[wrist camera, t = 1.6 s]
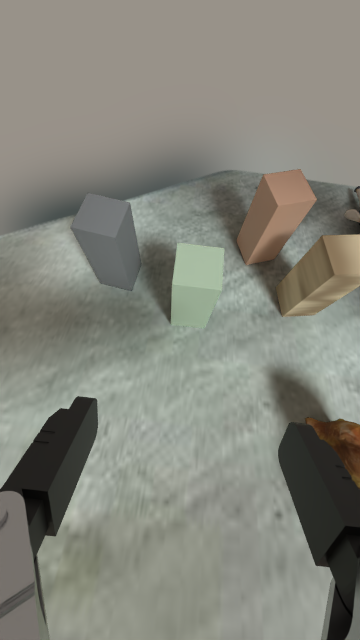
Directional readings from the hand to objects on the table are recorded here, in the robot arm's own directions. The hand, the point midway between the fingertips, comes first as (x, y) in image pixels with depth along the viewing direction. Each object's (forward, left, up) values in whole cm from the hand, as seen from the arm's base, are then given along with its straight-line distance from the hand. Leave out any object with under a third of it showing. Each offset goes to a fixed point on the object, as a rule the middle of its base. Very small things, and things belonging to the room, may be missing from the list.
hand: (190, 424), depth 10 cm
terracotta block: (-8, -22, -16) cm, 28 cm away
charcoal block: (+9, -16, -16) cm, 24 cm away
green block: (0, -12, -16) cm, 20 cm away
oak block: (-13, -15, -16) cm, 26 cm away
